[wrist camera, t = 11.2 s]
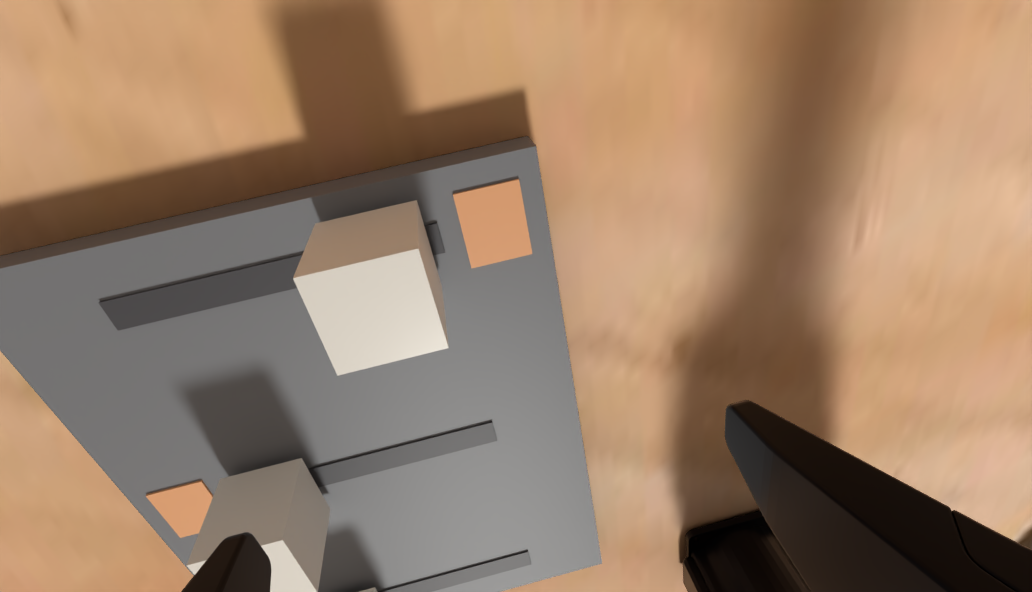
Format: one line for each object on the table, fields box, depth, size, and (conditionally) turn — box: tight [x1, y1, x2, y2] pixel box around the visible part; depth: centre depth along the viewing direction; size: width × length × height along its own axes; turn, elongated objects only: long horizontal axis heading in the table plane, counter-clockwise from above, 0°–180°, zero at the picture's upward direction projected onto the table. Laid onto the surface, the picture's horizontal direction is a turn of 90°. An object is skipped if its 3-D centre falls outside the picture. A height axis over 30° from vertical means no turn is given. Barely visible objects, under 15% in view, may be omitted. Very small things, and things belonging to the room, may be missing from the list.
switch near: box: [293, 200, 449, 376], centre depth 17 cm, size 4×4×4 cm
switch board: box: [0, 136, 602, 592], centre depth 25 cm, size 20×25×2 cm
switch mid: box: [186, 458, 330, 592], centre depth 22 cm, size 4×4×4 cm
